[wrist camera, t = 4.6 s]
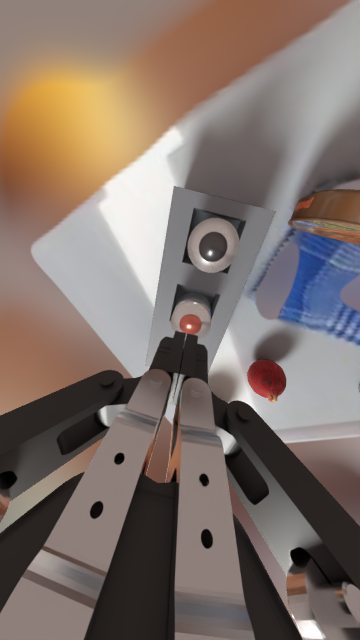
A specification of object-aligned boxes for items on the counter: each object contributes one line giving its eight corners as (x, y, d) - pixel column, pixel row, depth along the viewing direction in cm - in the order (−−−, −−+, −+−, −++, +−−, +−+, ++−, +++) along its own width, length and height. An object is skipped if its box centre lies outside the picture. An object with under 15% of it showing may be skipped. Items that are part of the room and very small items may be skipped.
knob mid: (214, 297, 21) (216, 312, 18) (204, 327, 24) (204, 346, 20) (180, 288, 21) (174, 301, 18) (173, 318, 24) (166, 336, 20)
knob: (239, 225, 17) (248, 225, 14) (224, 268, 20) (228, 278, 16) (197, 214, 18) (194, 211, 14) (187, 258, 20) (182, 266, 16)
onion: (242, 351, 32) (252, 387, 25) (277, 348, 30) (297, 385, 24) (244, 375, 34) (254, 412, 27) (276, 373, 33) (295, 412, 26)
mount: (259, 214, 22) (275, 211, 17) (205, 356, 34) (204, 380, 28) (182, 195, 22) (173, 185, 17) (155, 343, 34) (145, 365, 29)
